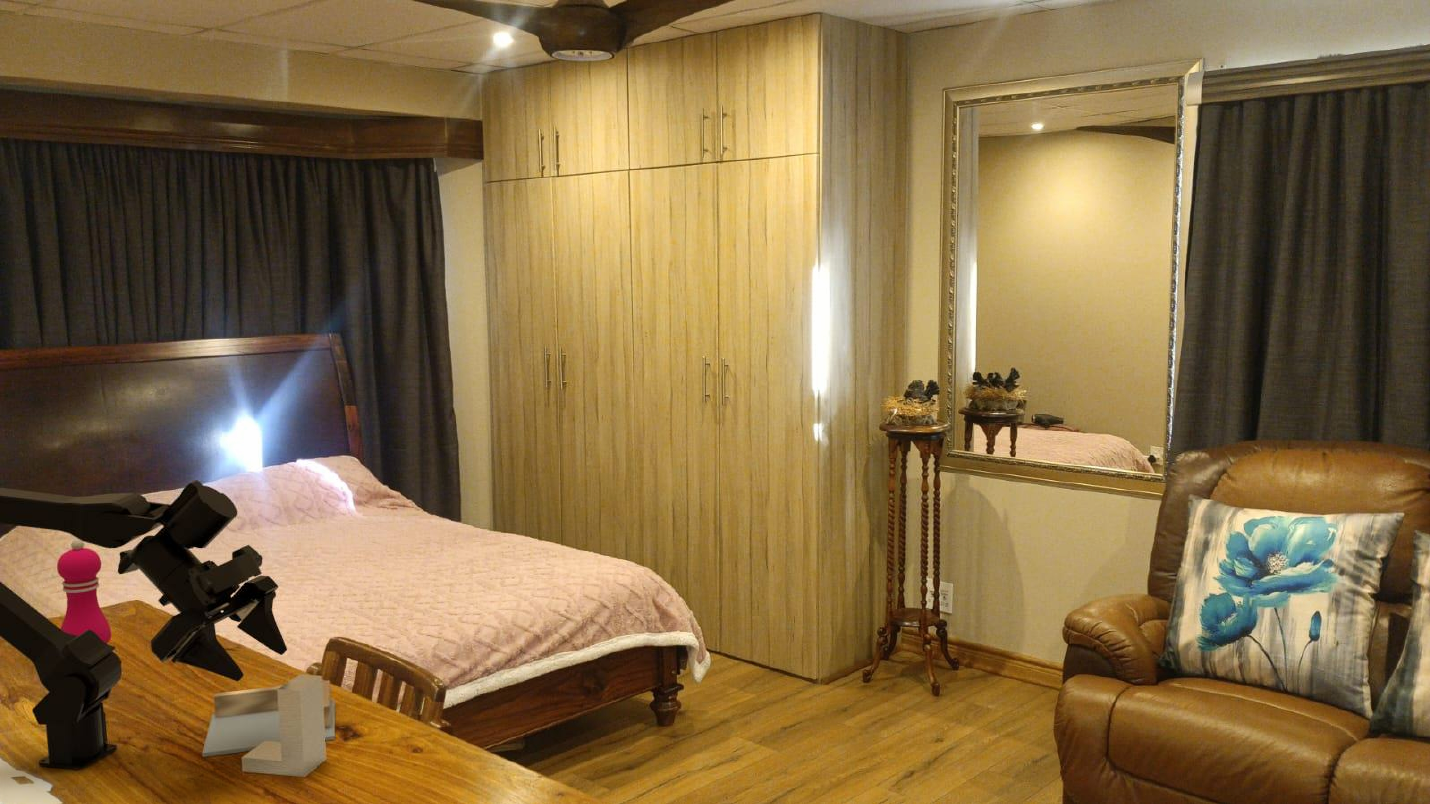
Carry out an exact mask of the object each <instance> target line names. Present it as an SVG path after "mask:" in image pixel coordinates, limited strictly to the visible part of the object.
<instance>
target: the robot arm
mask: <svg viewBox="0 0 1430 804" xmlns="http://www.w3.org/2000/svg"><path fill="white" fill-rule="evenodd" d="M237 516H238V509H237V507H236V505H235V504H234V502H233V500H231V499H230V497H228V495H226V494H225V492H220V491H218V490H217V489H215V488H213V487H211V486H208V485H204V484H202V483H201V481H199V480H198V479H195V480H193V481H191V482H189V483H187V485H186V486H184V488H183V489H182V491H181V492H180V494H179V495H178V496H177V498H175V499H174V500H173V502H172V503H171V504H168V503H163V502H161V503H160V502H155V501H154V502H153V501H148V500H147V498H146V497H145V496H143V495H142V494H139V493H136V492H123V493H122V492H121V493H120V492H119V493H105V494H103V493H102V494H97V495H96V494H95V495H88V496H87V495H86V496H71V495H69V496H68V495H63V494H55V493H54V494H53V493H46V492H37V491H32V490H31V491H30V490H21V489H14V488H13V489H12V488H5V487H0V524H2V525H7V526H8V525H10V526H17V527H27V528H32V529H33V528H34V529H43V530H52V531H59V532H63V533H67V534H69V535H71V536H73V537H75V538H76V539H79V540H81V541H83V542H84V543H88V544H91V545H94V546H95V545H96V546H98V547H102V548H106V549H117V548H121V547H123V546H125V545H127V544H129V543H131V542H133V541H134V540H136V539H138V538H139V537H142V536H144V537H143V538H142V539H141V540H140V541H139V542H138V543H137V544H136V545H135V546H134V547H133V548H132V549H128V550H124V551H123V550H122V551H120V552H119V553H118V554H119V562H118V567H117V573H118V574H119V575H124V574H128V573H132V572H136V571H138V570H140V572H141V573H142V574H143V575H144V576H145V577H146V578H147V579H148V580H149V581H150V582H151V583H152V584H153V586H155V587H156V589H158V591H159V592H160V593H161V594H162V595H161V597H159V599H158V600H157V601H158V603H159V604H161V606H162V607H166V606H167V605H169V604H171V605H172V606H173V607H174V608H175V609H176V610H177V611H178V612H179V613H177V614H175V615H173V616H171V617H170V619H169V620H168V621H167V622H166V623H165V624H164V625H163V626H162V627H161V629H160V630H159V631H158V632H157V633H156V634H155V636H153V638H151V640H150V649H151V652H152V654H154V656H155V657H156V658H157V659H158V661H160V662H161V663H164V662H165V661H168V660H170V659H171V660H170V661H171V662H172V663H173V664H176V663H181V664H184V665H187V666H191V667H195V668H199V669H202V670H205V671H207V672H210V673H213V674H216V675H219V676H221V677H225V678H228V679H231V680H233V681H235V682H239V681H241V680H242V679H243V678H244V676H245V674H244V672H243V670H242V669H241V668H240V666H239V665H238V664H237V662H236V661H235V660H234V658H233V657H232V656H231V655H230V654H229V653H228V651H226V649H225V648H224V647H223V645H222V644H221V643H220V642H219V640H218V639H217V633H216V625H215V624H217V623H219V622H221V621H224V620H225V619H227V618H229V619H230V620H231V621H234V622H237V623H238V625H237V626H236V628H237V629H239V630H240V631H242V632H244V633H245V634H247V635H248V636H250V637H251V638H253V639H254V640H255V641H258V642H259V643H260V644H262V645H264V646H265V647H267V648H268V649H269V650H271V651H272V652H274V653H276V654H278V655H281V656H282V655H284V654H285V653H286V652H287V651H288V647H287V645H286V643H285V641H284V637H283V635H282V634H281V630H280V628H279V626H278V624H277V621H276V618H275V616H274V612H273V603H274V600H275V598H276V597H277V593H276V591H277V589H279V585H278V584H277V583H276V581H275V580H273V578H271V576H270V575H262V573H263V572H262V570H261V567H262V565H263V559H264V558H263V556H262V555H261V554H260V553H259V552H258V551H257V550H255V548H253V547H252V546H251V545H250V544H247V545H245V546H242V547H239V548H238V549H236V550H234V551H232V552H231V559H230V560H227V561H226V562H224V563H221V564H219V565H218V564H216V563H215V562H214V561H213V560H210V559H208V560H206V561H203V562H202V561H201V560H200V559H199V558H198V557H197V556H196V555H195V554H194V553H193V552H192V551H191V549H194V548H196V549H206V548H207V547H208V546H209V545H210V544H211V543H212V542H213V541H214V540H215V539H216V538H217V536H218V535H220V534H221V532H223V531H224V529H226V527H227V526H228V525H229V524H231V522H233V521H234V519H235V518H236V517H237ZM162 526H163V527H162ZM159 527H162V528H160V529H159V530H158V531H157V533H155V534H154V535H153V534H152V535H146V534H148V533H150V532H152V531H153V530H155V529H157V528H159ZM145 535H146V536H145ZM252 577H254V578H252ZM250 578H251V579H250ZM249 579H250V580H249ZM241 584H242V585H241ZM240 585H241V586H240ZM60 628H61V627H59V626H57V625H56V624H55V623H53V622H52V621H51V620H49V619H48V618H47V617H46V616H45V615H43V614H42V613H41V612H40V611H38V610H37V609H36V608H34V607H33V606H32V605H31V604H30V603H29V602H27V601H26V600H24V599H23V598H22V597H20V596H19V595H18V594H16V592H14V590H12V589H10V588H9V587H8V586H6V585H5V584H4V583H3V582H2V581H0V638H1V639H2V640H3V641H5V642H7V643H8V644H9V645H11V647H13V648H14V649H16V650H17V651H18V652H19V653H20V654H22V655H23V656H24V657H26V658H27V659H28V660H29V661H30V662H31V663H32V664H33V666H34V668H35V671H36V673H37V677H38V678H39V681H40V683H41V685H42V687H44V689H45V690H46V691H47V694H45V695H44V697H43V698H41V700H40V701H39V702H38V703H36V704H35V706H34V707H33V708H32V714H33V716H34V718H35V720H36V722H37V724H38V725H41V726H42V725H43V726H44V725H45V728H46V729H45V730H46V741H47V752H48V755H47V756H45V757H44V758H42V759H39V761H38V766H41V767H50V768H60V769H61V768H62V769H71V770H72V769H73V770H83V769H85V768H87V767H89V766H91V765H92V764H94V763H96V762H97V761H99V760H100V759H102V758H104V757H105V756H107V755H109V754H111V753H113V752H115V750H117V749H118V745H117V744H116V743H115V744H114V743H108V731H107V729H108V728H107V720H106V719H107V718H106V713H105V710H104V701H105V700H108V699H109V698H110V695H111V692H112V688H113V687H115V686H116V685H118V682H119V681H120V680H121V677H122V672H123V670H122V668H123V667H122V663H123V662H122V661H121V658H120V657H119V656H118V655H117V653H116V652H114V650H116V646H113V645H110V644H108V643H105V642H104V641H103V640H101V639H100V637H99V636H98V635H97V634H96V633H95V632H93V631H92V630H90V629H89V630H87V631H85V632H84V633H82V634H81V635H79V636H76V635H72V634H69V633H66V632H64V631H62V630H61V629H60Z"/></svg>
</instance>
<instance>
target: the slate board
mask: <svg viewBox="0 0 1430 804" xmlns="http://www.w3.org/2000/svg"><path fill="white" fill-rule="evenodd" d="M335 707H336V701H335V700H334V699H331V728H325V740H326V741H325V742H327V741H334V740H335V739H336V737H335V736H336V735H335V734H336V731H335V730H336V729H335V728H336V724H335V722H336V721H335V720H336V715H335V714H336V708H335ZM264 741H273V742H281V741H280V725H279V710H275V711H267V712H258V713H250V714H242V715H234V716H226V717H218V718H215V714H212V715H211V718H210V723H209V726H208V730H207V734H206V738H205V741H204V746H203V750H202V753H201V755H202V758H205V757H206V758H207V757H213V756H222V755H228V754H236V753H244V752H245V753H246V752H250V751H252V750H253V749H254V748H256V747H257V746H259V745H260V744H261V743H263V742H264Z"/></svg>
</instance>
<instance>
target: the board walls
mask: <svg viewBox="0 0 1430 804" xmlns="http://www.w3.org/2000/svg"><path fill="white" fill-rule="evenodd" d="M281 686H282V685H278V686H277V685H276V686H269V687H260V688H259V687H258V688H252V689H251V688H250V689H242V690H235V691H225V692H218V693H217V692H216V693H214V696H213V700H214V701H213V702H214V704H213V705H214V715H215V718H218V717H226V716H234V715H242V714H250V713H258V712H267V711H275V710H279V708H278V692H277V689H278V688H280V687H281ZM322 689H323V706H324V724H325V728H331V700H332V697H331V681H330V680H322Z"/></svg>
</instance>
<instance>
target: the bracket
mask: <svg viewBox="0 0 1430 804" xmlns="http://www.w3.org/2000/svg"><path fill="white" fill-rule="evenodd" d="M322 681H323V676H322V675H313V674H298V675H297V676H296V677H294V678H292V679H291V680H288V682H286V683H285V684H283V685H280V686H281V687H280V688H278V689H277V692H278V708H279V725H280V741H281V742H273V741H264V742H263V743H261V744H260V745H259V746H257V747H256V748H254V749H253V750H252V751H248V753H246V754H244V755H243V756H242V757H241V767H242V770H241V771H242V772H243V773H244V772H246V773H256V774H257V773H258V774H268V775H277V776H278V775H279V776H287V777H288V776H289V777H298V778H299V777H300V778H305V777H307V776H308V775H310V774H311V772H313V771H315V769H317V768H318V767H320V766H321V765H322V764H323V763H324V762H325V761H326V760H327V759H328V758H327V748H326V747H327V746H326V742H327V741H325V724H324V706H323V689H322ZM322 762H323V763H322ZM321 763H322V764H321ZM320 764H321V765H320ZM317 766H318V767H317Z"/></svg>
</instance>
